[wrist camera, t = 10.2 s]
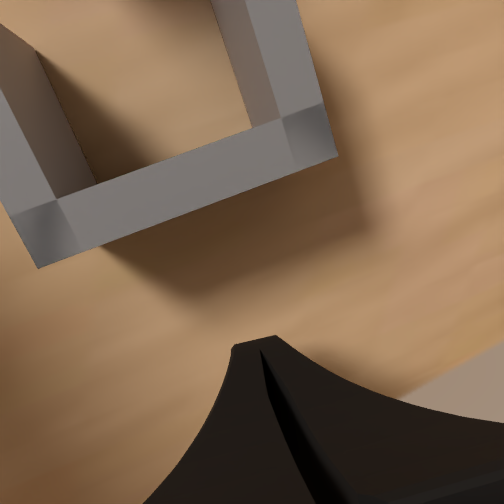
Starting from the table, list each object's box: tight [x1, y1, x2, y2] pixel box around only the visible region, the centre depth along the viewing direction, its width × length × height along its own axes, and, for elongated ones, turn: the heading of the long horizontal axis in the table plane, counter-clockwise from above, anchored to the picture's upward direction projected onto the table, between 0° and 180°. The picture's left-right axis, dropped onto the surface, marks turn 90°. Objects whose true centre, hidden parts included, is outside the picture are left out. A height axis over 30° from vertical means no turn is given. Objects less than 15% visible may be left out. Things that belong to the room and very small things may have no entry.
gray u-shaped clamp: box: [0, 0, 338, 269], centre depth 9 cm, size 7×5×4 cm
